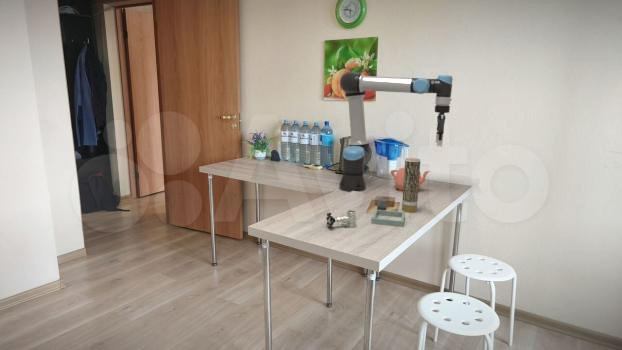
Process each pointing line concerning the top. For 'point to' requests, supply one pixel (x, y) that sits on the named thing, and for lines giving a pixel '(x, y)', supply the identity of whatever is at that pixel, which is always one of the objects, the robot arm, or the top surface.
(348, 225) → the valve
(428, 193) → the top surface
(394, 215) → the tray
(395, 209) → the board
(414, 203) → the log cylinder
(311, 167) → the top surface
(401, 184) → the teapot
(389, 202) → the walnut plate
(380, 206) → the block
